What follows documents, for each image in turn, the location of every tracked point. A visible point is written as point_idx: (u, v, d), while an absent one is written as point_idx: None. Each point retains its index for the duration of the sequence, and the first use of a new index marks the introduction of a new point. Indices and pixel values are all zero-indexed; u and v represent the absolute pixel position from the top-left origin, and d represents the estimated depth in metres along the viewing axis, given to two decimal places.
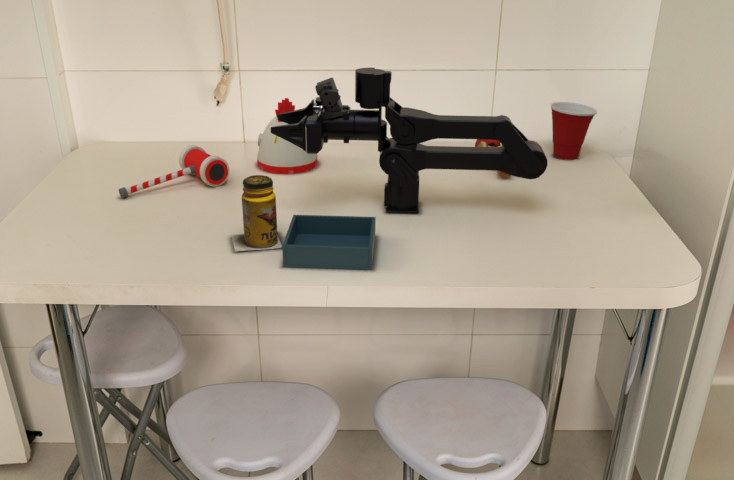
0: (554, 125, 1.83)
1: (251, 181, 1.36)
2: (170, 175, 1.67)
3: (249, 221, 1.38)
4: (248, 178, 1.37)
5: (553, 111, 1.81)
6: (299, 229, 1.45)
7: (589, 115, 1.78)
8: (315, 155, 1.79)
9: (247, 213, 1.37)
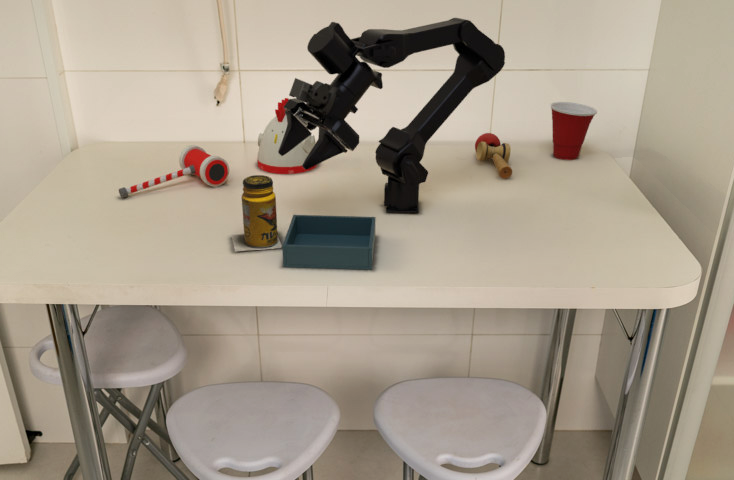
0: (554, 125, 1.83)
1: (251, 181, 1.36)
2: (170, 175, 1.67)
3: (249, 221, 1.38)
4: (248, 178, 1.37)
5: (553, 111, 1.81)
6: (299, 229, 1.45)
7: (589, 115, 1.78)
8: None
9: (247, 213, 1.37)
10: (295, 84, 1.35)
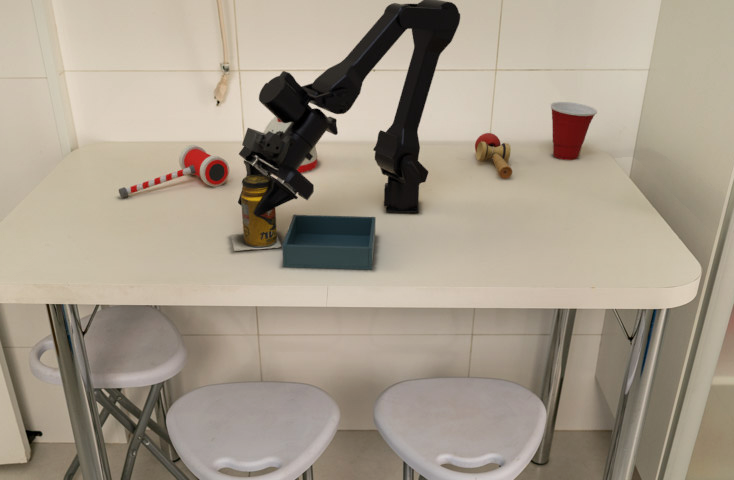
0: (554, 125, 1.83)
1: (251, 181, 1.36)
2: (170, 175, 1.67)
3: (248, 220, 1.38)
4: (247, 177, 1.38)
5: (553, 111, 1.81)
6: (299, 229, 1.45)
7: (589, 115, 1.78)
8: (315, 155, 1.79)
9: (247, 212, 1.38)
10: (248, 134, 1.33)
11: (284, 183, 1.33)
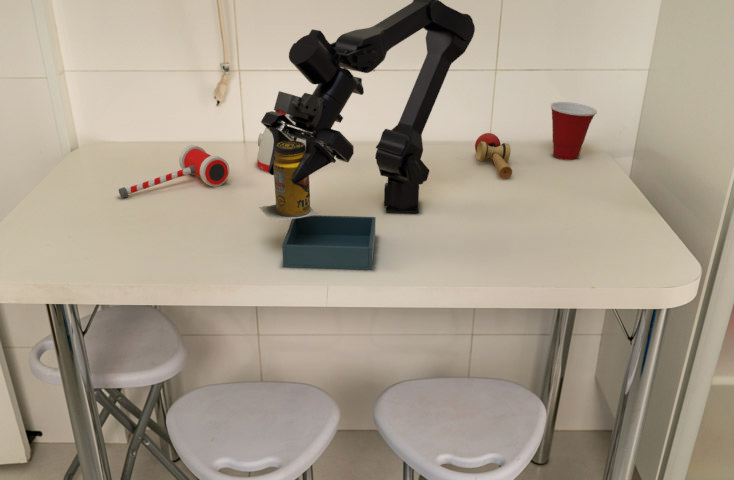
0: (554, 125, 1.83)
1: (285, 147, 1.31)
2: (170, 175, 1.67)
3: (284, 189, 1.33)
4: (279, 144, 1.32)
5: (553, 111, 1.81)
6: (299, 229, 1.45)
7: (589, 115, 1.78)
8: None
9: (282, 180, 1.32)
10: (280, 98, 1.28)
11: (324, 146, 1.28)
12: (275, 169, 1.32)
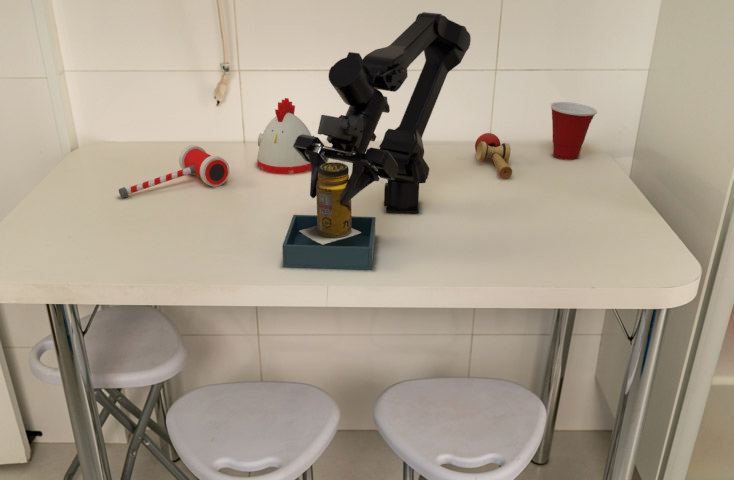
0: (554, 125, 1.83)
1: (330, 169, 1.31)
2: (170, 175, 1.67)
3: (331, 211, 1.33)
4: (322, 167, 1.32)
5: (553, 111, 1.81)
6: (299, 229, 1.45)
7: (589, 115, 1.78)
8: None
9: (329, 202, 1.33)
10: (325, 121, 1.28)
11: (371, 166, 1.31)
12: (321, 192, 1.32)
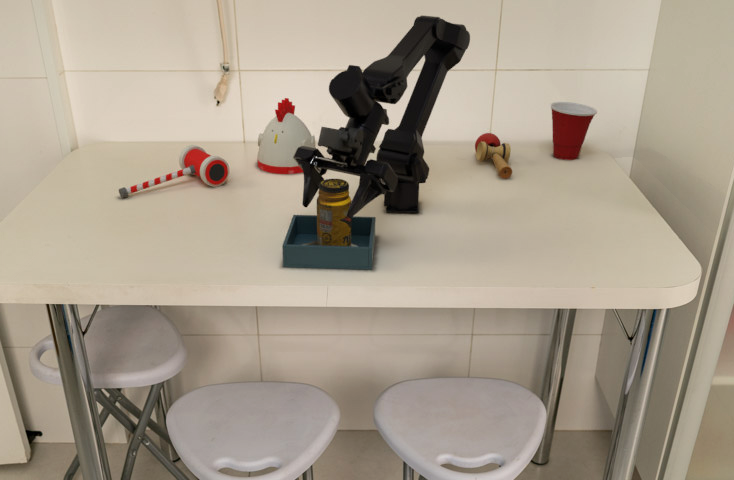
0: (554, 125, 1.83)
1: (331, 186, 1.33)
2: (170, 175, 1.67)
3: (331, 226, 1.35)
4: (323, 183, 1.34)
5: (553, 111, 1.81)
6: (299, 229, 1.45)
7: (589, 115, 1.78)
8: None
9: (329, 218, 1.34)
10: (325, 133, 1.29)
11: (378, 179, 1.31)
12: (321, 208, 1.34)
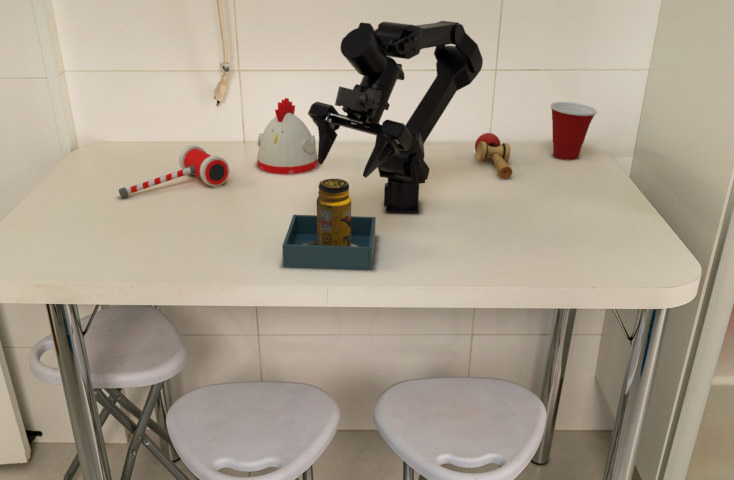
0: (554, 125, 1.83)
1: (331, 186, 1.33)
2: (170, 175, 1.67)
3: (331, 226, 1.35)
4: (323, 183, 1.34)
5: (553, 111, 1.81)
6: (299, 229, 1.45)
7: (589, 115, 1.78)
8: (315, 155, 1.79)
9: (329, 218, 1.34)
10: (343, 93, 1.31)
11: (394, 140, 1.33)
12: (321, 208, 1.34)
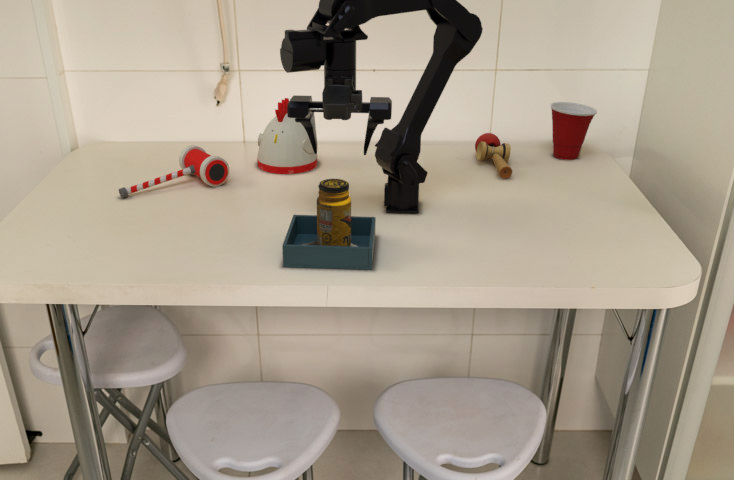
0: (554, 125, 1.83)
1: (331, 186, 1.33)
2: (170, 175, 1.67)
3: (331, 226, 1.35)
4: (323, 183, 1.34)
5: (553, 111, 1.81)
6: (299, 229, 1.45)
7: (589, 115, 1.78)
8: (315, 155, 1.79)
9: (329, 218, 1.34)
10: (331, 109, 1.34)
11: None
12: (321, 208, 1.34)
